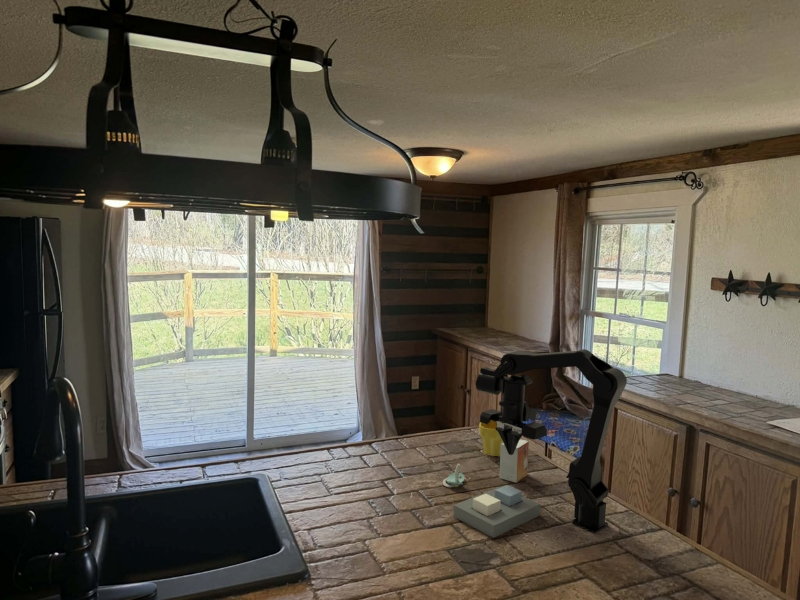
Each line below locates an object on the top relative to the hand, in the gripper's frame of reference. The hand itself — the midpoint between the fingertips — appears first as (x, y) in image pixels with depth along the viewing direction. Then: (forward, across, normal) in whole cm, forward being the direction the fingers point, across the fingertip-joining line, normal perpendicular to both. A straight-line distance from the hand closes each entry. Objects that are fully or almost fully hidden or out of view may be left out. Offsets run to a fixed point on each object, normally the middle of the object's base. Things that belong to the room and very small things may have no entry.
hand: (510, 454), depth 149 cm
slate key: (+9, -5, +7) cm, 12 cm away
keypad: (+12, -5, +11) cm, 17 cm away
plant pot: (+12, +24, -22) cm, 35 cm away
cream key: (+9, -5, +15) cm, 18 cm away
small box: (+12, +8, -12) cm, 19 cm away
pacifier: (+12, +15, +6) cm, 21 cm away
